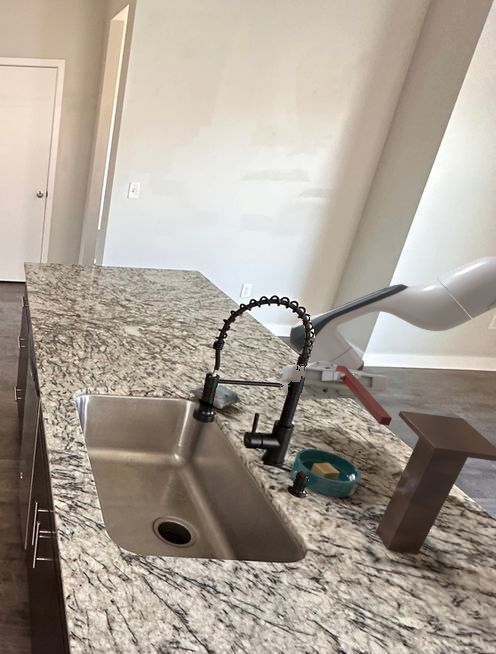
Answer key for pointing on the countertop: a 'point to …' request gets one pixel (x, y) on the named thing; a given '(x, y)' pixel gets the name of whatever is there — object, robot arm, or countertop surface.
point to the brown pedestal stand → (429, 477)
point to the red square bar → (365, 397)
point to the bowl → (320, 484)
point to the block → (325, 471)
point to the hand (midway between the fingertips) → (349, 377)
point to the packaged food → (218, 396)
